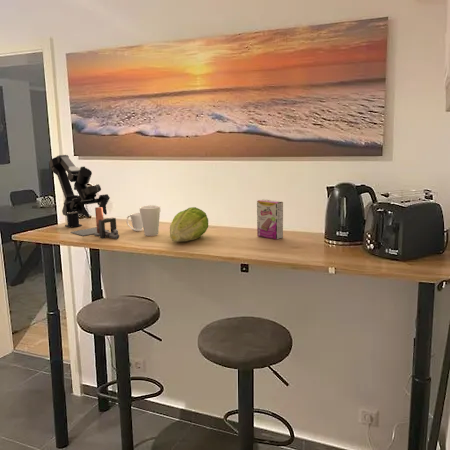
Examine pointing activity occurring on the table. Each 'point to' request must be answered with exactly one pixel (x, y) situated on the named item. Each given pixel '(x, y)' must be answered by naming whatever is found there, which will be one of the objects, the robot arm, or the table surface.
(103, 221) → the brown square arch
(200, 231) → the lettuce
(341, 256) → the table surface
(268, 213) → the candy bar box
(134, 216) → the cup
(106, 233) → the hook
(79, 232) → the mat
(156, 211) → the foam cup
